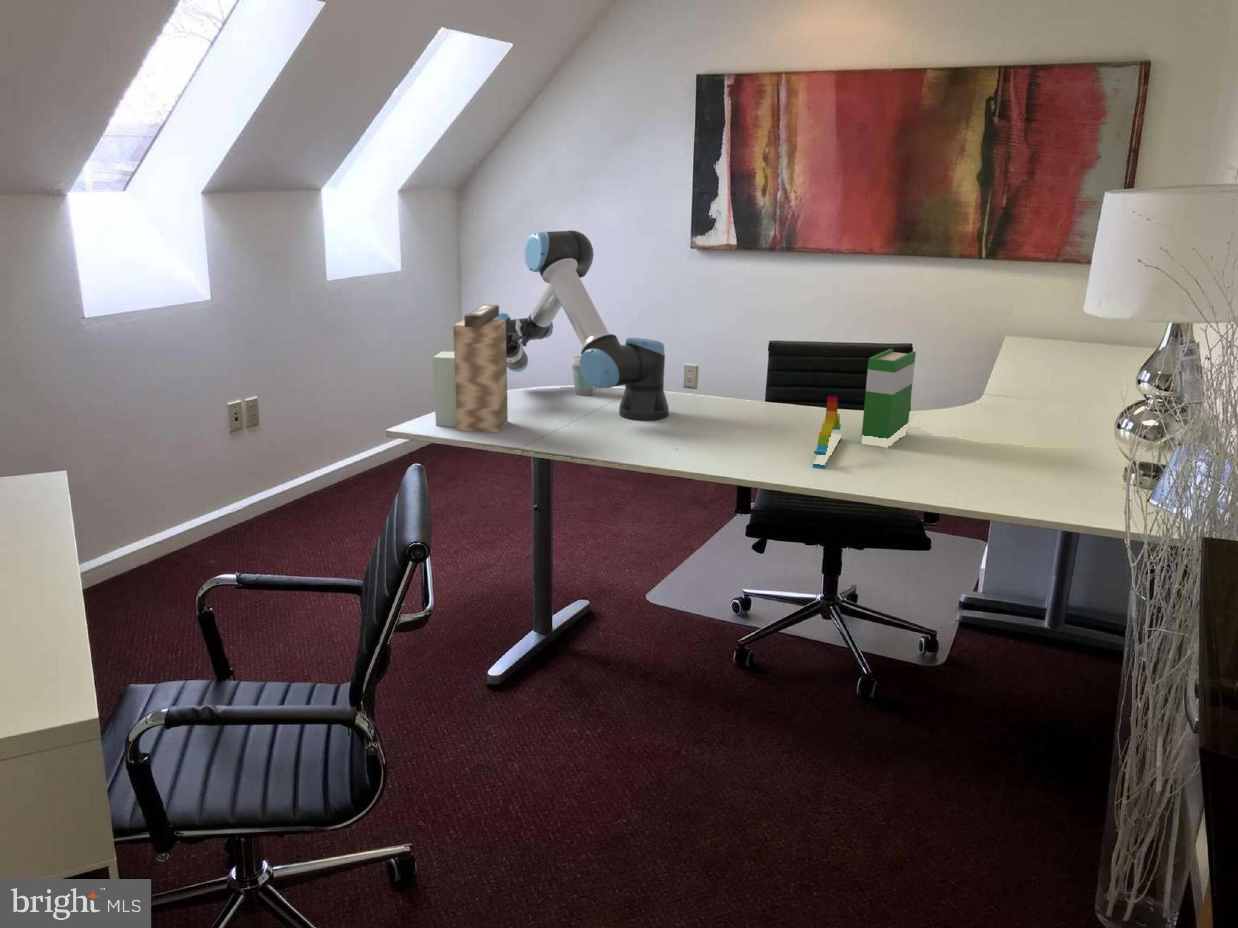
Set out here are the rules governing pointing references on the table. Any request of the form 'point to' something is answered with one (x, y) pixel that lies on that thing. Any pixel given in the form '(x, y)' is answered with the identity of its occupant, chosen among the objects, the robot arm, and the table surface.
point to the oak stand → (481, 376)
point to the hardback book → (888, 393)
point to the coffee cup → (580, 379)
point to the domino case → (481, 316)
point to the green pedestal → (445, 389)
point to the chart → (828, 429)
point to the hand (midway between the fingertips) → (494, 322)
